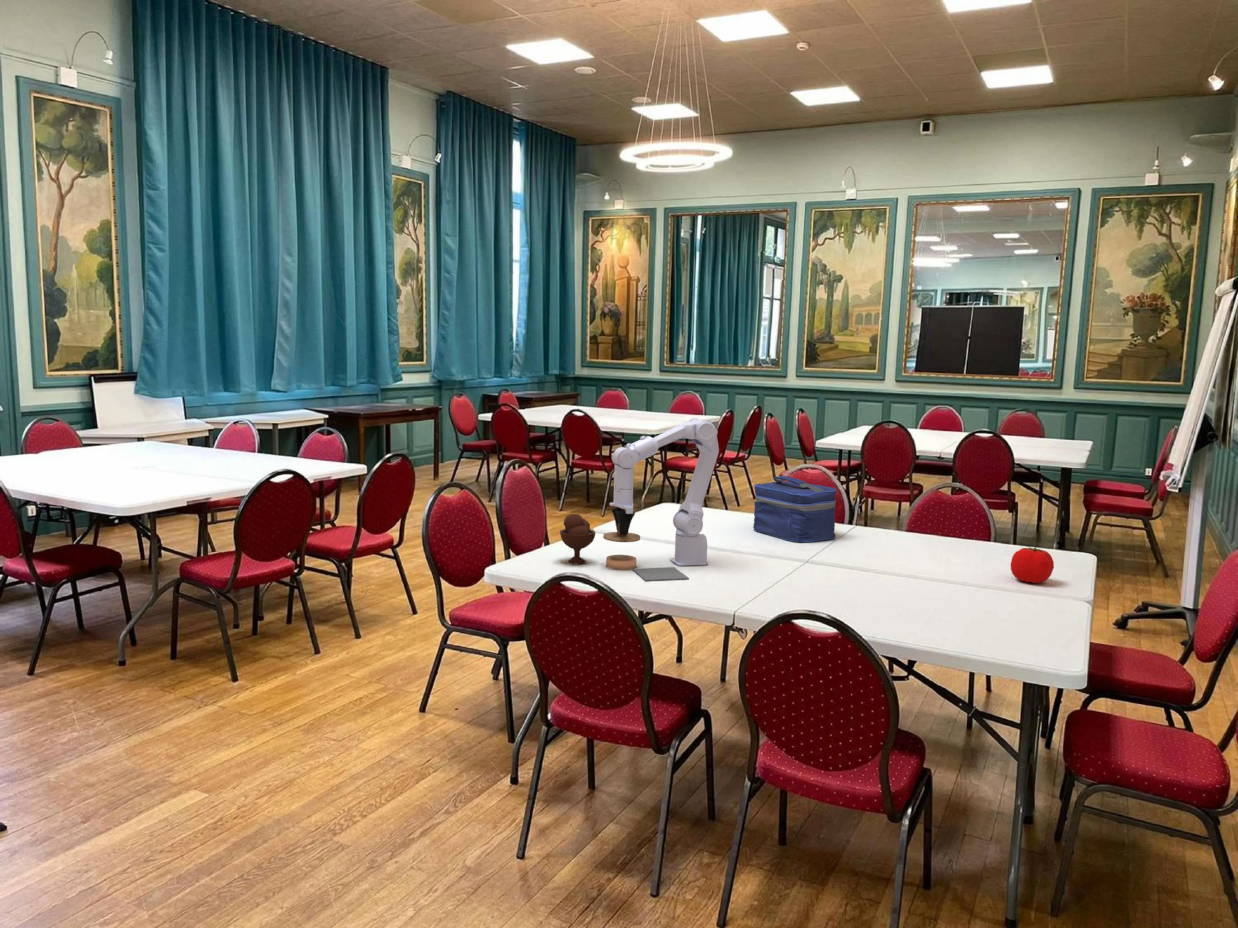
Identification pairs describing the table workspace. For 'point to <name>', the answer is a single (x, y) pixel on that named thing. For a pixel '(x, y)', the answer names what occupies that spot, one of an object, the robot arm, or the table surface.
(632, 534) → the lid
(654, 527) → the table surface
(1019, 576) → the tomato
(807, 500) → the lunch bag
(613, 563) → the dish
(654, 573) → the mat
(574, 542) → the ice cream bowl
